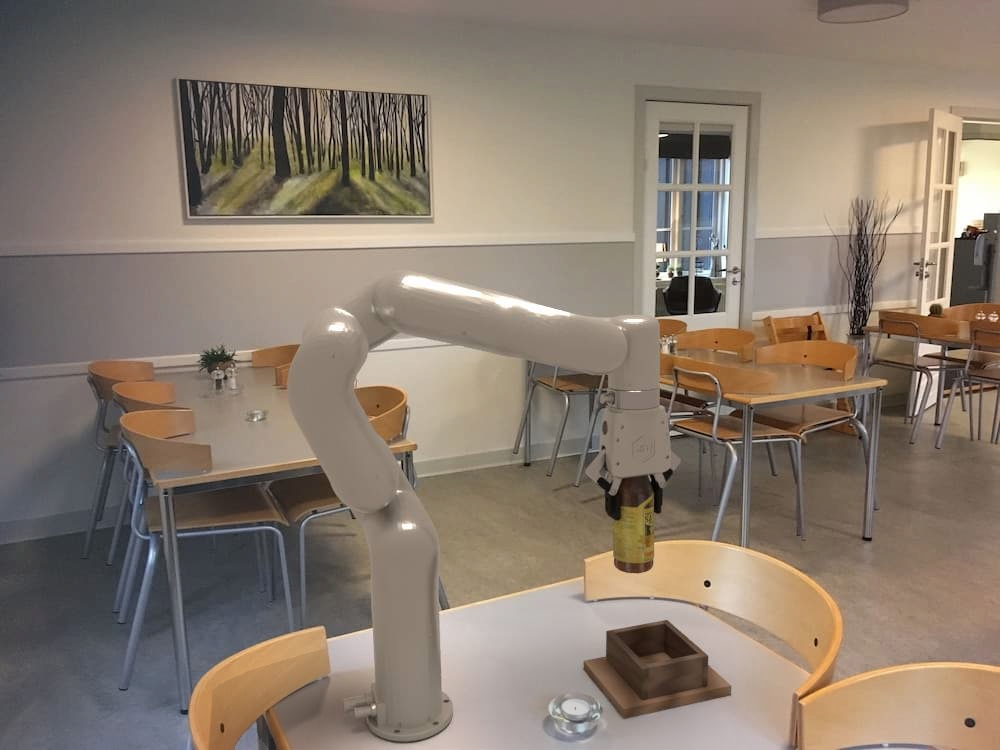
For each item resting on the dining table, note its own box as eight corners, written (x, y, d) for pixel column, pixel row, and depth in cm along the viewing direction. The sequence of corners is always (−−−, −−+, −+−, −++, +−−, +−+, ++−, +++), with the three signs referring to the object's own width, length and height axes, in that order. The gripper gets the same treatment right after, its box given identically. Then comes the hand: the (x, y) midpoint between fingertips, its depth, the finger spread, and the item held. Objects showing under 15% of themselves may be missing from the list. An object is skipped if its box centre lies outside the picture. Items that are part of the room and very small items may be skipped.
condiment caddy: (623, 718, 112) (624, 677, 111) (583, 669, 125) (583, 631, 124) (730, 694, 117) (732, 654, 116) (681, 649, 131) (682, 613, 129)
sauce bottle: (654, 576, 116) (654, 447, 113) (612, 574, 117) (610, 447, 114) (654, 559, 122) (653, 436, 119) (613, 557, 123) (612, 435, 120)
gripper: (592, 409, 109) (593, 531, 112) (698, 397, 114) (696, 514, 117) (570, 399, 116) (571, 514, 119) (671, 389, 121) (670, 499, 124)
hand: (634, 513), depth 118 cm, fingers closed on sauce bottle, 6 cm apart
